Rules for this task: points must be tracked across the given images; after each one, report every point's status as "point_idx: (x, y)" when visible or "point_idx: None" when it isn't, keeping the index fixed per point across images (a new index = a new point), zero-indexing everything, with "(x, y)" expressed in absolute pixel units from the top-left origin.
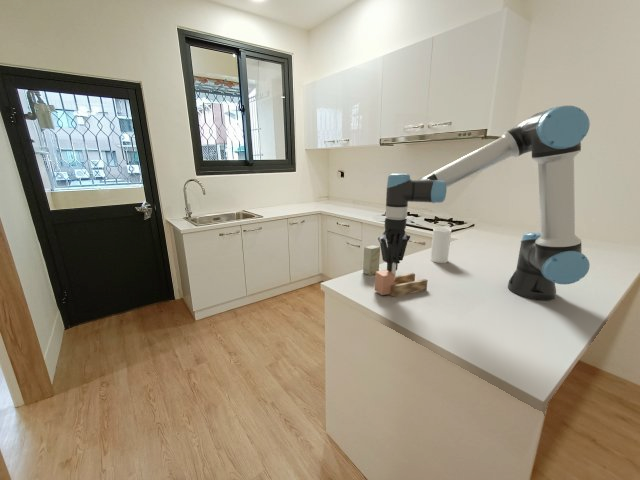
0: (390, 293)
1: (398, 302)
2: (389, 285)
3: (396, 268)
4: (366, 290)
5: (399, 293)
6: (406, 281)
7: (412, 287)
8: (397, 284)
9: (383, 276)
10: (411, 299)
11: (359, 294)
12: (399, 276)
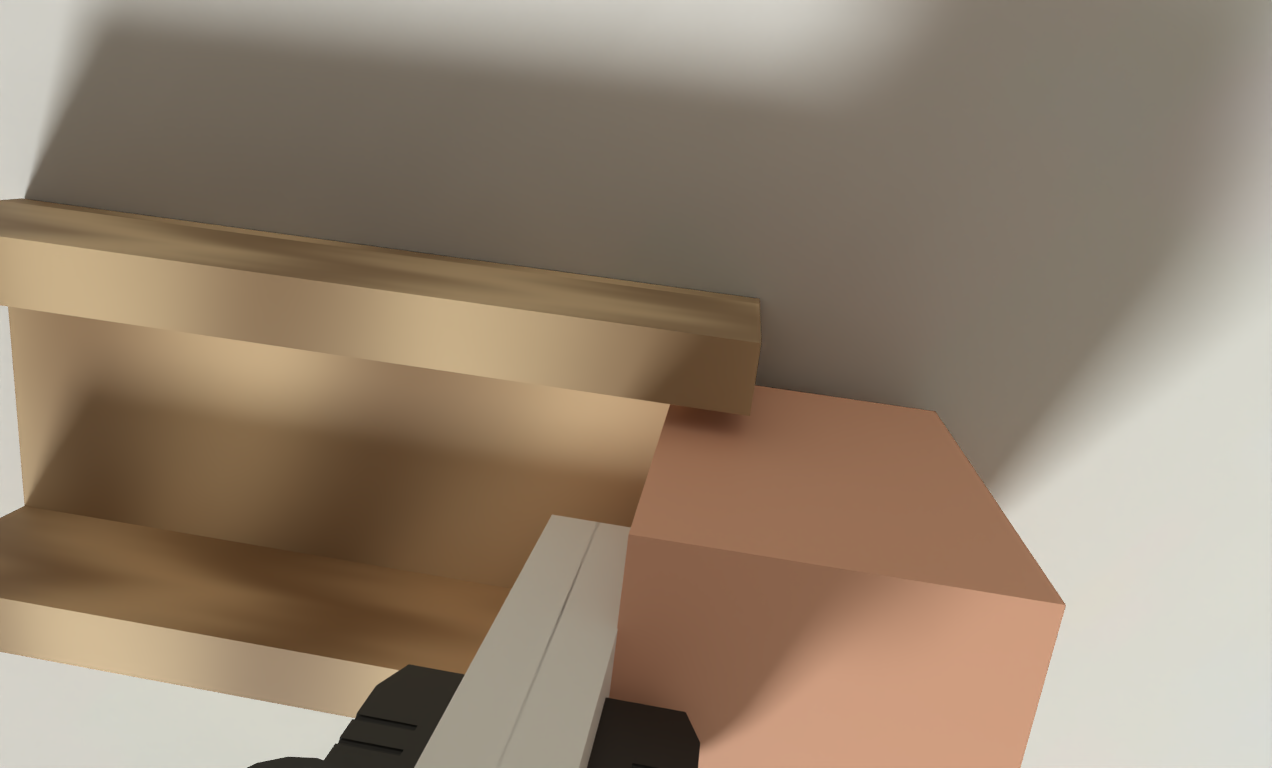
0: None
1: (833, 77)
2: (782, 445)
3: (402, 705)
4: None
5: (608, 284)
6: (169, 551)
7: (278, 255)
8: (586, 388)
9: (1053, 600)
10: (528, 46)
11: (1192, 678)
12: (256, 656)
